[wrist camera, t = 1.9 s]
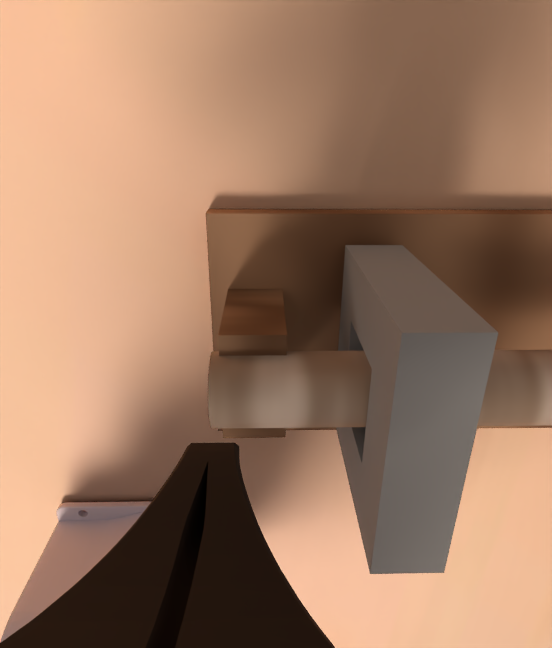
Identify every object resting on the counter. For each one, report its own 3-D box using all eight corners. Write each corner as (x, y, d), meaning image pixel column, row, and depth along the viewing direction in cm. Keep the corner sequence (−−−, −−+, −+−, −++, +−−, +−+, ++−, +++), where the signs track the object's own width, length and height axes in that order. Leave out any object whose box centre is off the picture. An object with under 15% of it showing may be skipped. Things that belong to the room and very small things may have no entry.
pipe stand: (219, 419, 24) (202, 534, 18) (208, 209, 20) (179, 255, 13) (661, 415, 25) (809, 525, 18) (748, 210, 20) (987, 255, 14)
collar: (333, 416, 23) (370, 574, 15) (345, 245, 19) (401, 332, 11) (381, 415, 23) (444, 572, 15) (402, 245, 19) (498, 332, 11)
